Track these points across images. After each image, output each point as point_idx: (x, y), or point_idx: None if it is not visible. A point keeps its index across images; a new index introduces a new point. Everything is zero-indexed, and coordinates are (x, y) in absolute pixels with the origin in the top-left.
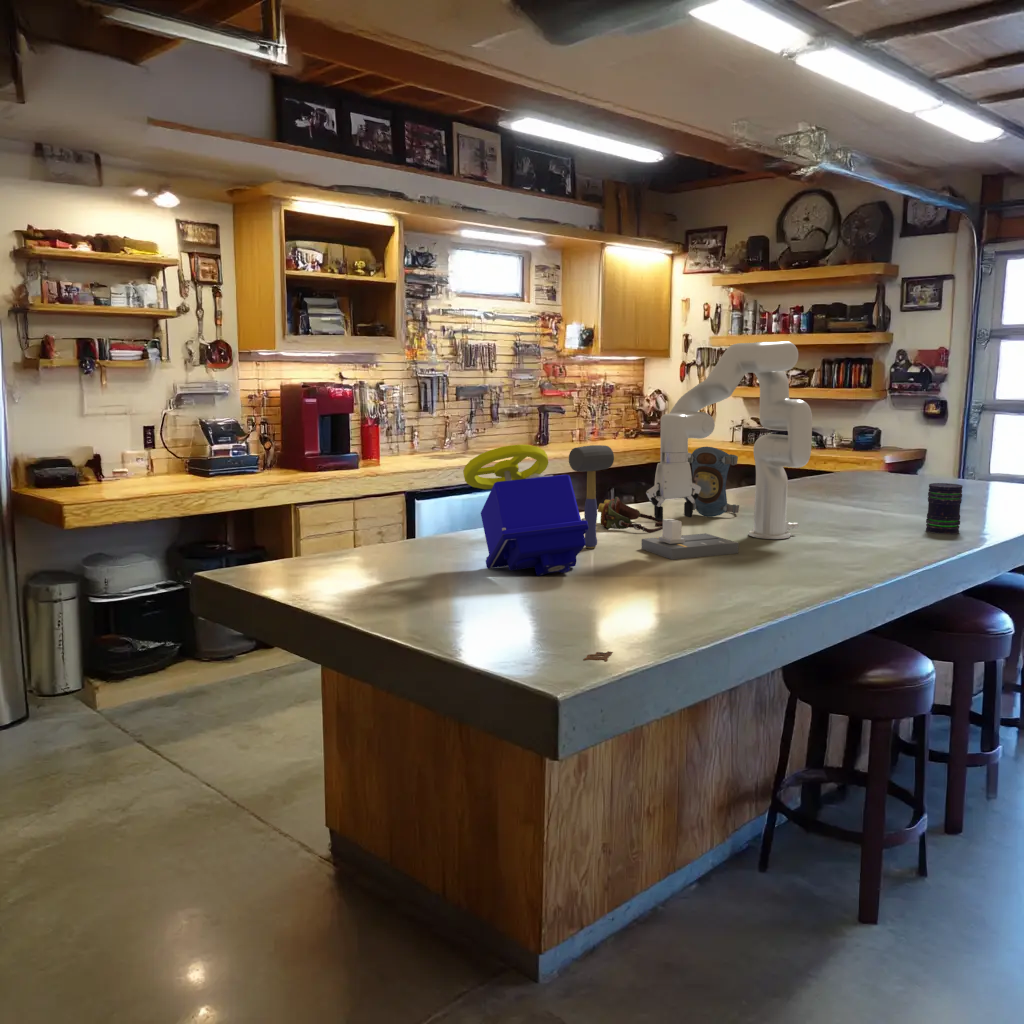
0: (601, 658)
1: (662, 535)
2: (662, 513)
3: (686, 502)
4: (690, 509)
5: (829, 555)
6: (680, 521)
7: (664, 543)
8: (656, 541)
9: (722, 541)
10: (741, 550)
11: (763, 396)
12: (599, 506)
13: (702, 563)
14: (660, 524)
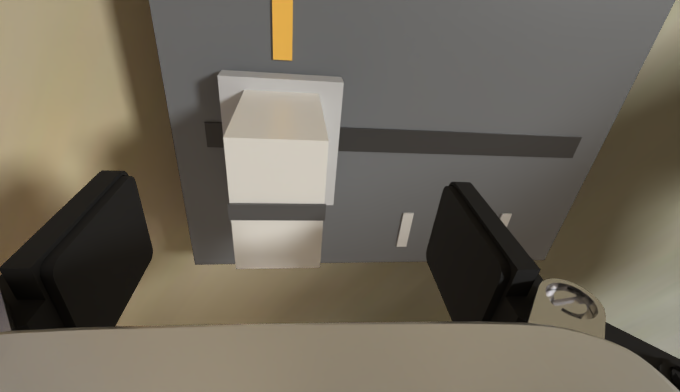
0: None
1: (242, 94)
2: (121, 304)
3: (503, 304)
4: (452, 306)
5: (675, 331)
6: (310, 267)
7: (223, 149)
8: (204, 73)
9: (519, 218)
10: (577, 198)
11: None
12: None
13: (284, 308)
14: None
